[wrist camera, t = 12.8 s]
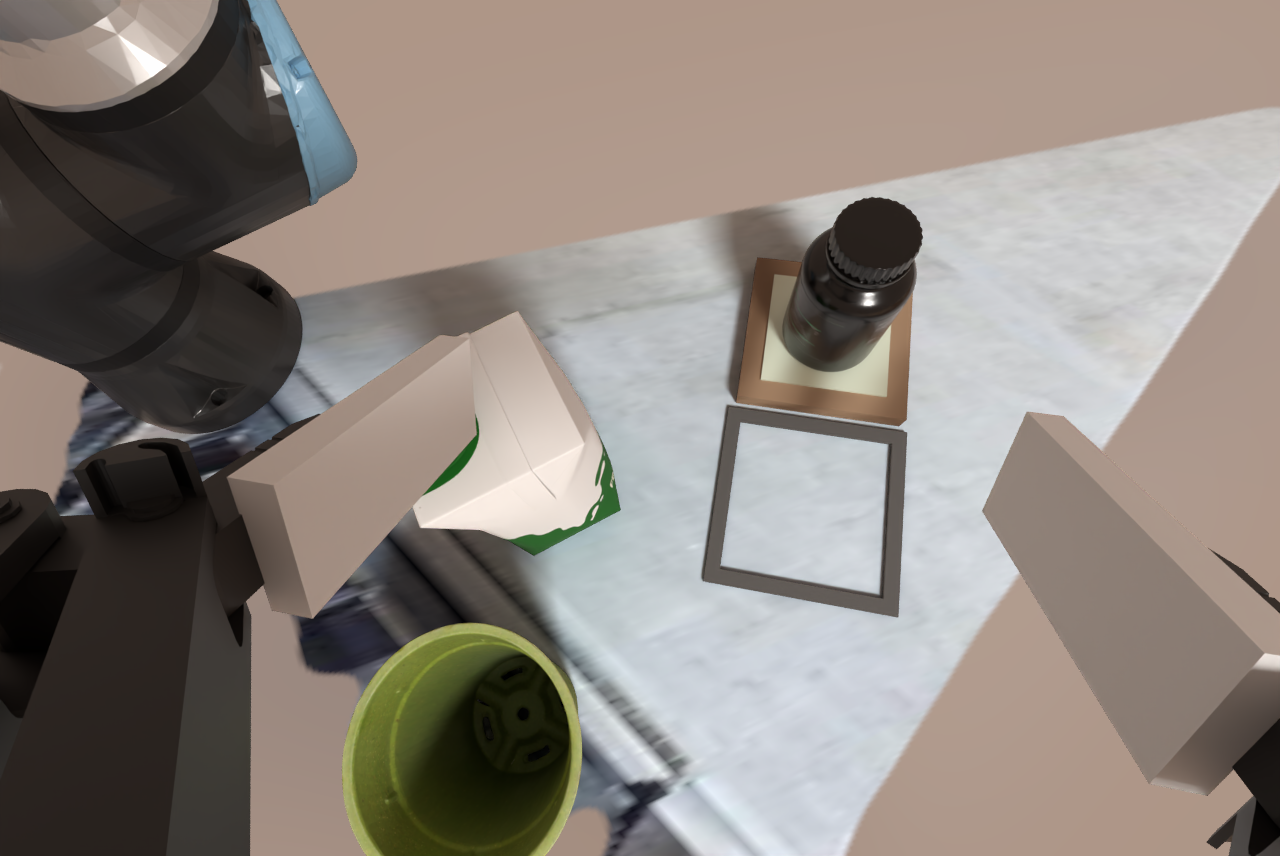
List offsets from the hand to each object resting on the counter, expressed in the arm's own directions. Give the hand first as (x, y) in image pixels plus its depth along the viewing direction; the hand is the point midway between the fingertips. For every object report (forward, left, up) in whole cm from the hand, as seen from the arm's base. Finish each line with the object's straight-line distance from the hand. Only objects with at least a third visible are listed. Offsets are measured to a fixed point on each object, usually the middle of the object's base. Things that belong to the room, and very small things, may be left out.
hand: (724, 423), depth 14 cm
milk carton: (-11, +2, -28) cm, 30 cm away
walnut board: (+7, +17, -28) cm, 33 cm away
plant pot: (-10, -13, -28) cm, 32 cm away
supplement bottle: (+7, +17, -26) cm, 32 cm away
